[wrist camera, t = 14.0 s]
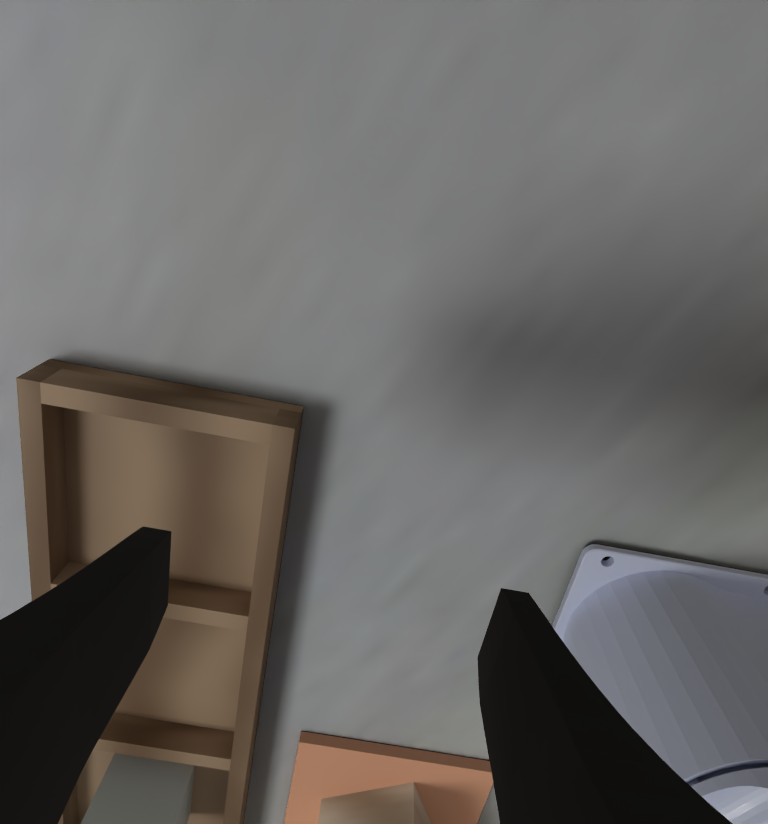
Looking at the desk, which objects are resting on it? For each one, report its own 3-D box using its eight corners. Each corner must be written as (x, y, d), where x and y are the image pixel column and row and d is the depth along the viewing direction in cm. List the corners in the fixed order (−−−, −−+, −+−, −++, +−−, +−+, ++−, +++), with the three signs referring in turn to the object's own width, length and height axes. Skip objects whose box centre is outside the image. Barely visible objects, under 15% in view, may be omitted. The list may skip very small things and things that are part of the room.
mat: (495, 761, 30) (497, 773, 29) (450, 876, 34) (450, 888, 33) (301, 731, 29) (299, 742, 29) (278, 850, 33) (276, 862, 33)
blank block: (194, 764, 30) (165, 849, 26) (190, 813, 31) (162, 900, 28) (115, 751, 30) (74, 835, 26) (115, 802, 31) (76, 888, 27)
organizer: (303, 406, 22) (294, 428, 20) (240, 840, 33) (231, 880, 31) (48, 359, 22) (16, 378, 20) (69, 815, 33) (49, 854, 31)
